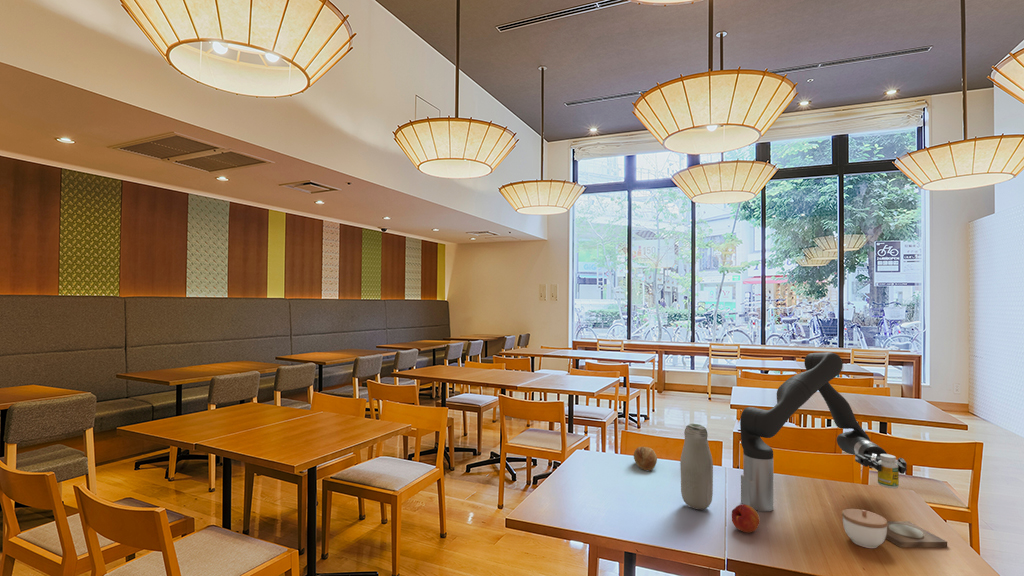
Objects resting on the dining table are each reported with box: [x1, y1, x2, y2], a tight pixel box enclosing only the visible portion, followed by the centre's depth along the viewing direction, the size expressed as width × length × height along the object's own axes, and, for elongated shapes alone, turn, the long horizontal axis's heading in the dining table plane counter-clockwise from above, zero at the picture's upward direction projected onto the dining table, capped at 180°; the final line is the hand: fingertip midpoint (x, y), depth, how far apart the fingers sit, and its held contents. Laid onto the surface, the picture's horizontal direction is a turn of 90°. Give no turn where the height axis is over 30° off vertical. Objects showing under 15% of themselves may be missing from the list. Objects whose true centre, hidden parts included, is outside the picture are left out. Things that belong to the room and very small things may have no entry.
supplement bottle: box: [877, 453, 900, 489], centre depth 155 cm, size 5×5×10 cm
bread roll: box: [633, 446, 658, 471], centre depth 205 cm, size 10×15×8 cm, turn 170°
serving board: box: [885, 520, 948, 548], centre depth 145 cm, size 14×13×2 cm
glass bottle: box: [679, 423, 714, 511], centre depth 164 cm, size 10×10×28 cm
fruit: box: [731, 503, 761, 534], centre depth 147 cm, size 8×8×8 cm
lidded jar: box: [841, 508, 888, 549], centre depth 140 cm, size 11×11×9 cm
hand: (891, 469), depth 153 cm, fingers closed on supplement bottle, 5 cm apart
